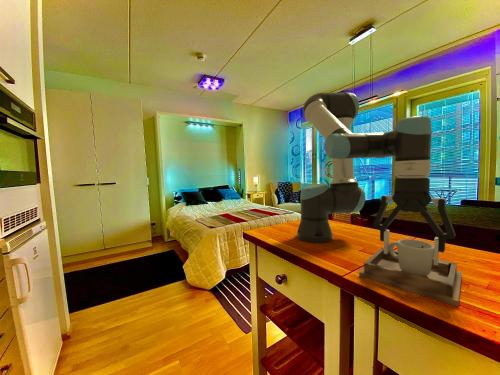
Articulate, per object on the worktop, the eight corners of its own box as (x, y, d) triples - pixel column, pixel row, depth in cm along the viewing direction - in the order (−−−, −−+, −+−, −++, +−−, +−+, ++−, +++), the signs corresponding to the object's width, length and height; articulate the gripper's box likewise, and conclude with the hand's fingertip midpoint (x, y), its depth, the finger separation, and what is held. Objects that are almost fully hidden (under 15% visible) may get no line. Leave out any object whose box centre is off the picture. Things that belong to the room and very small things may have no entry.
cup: (380, 265, 63) (380, 238, 62) (398, 260, 66) (399, 234, 65) (421, 282, 53) (422, 251, 52) (440, 276, 56) (442, 246, 55)
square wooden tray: (359, 276, 60) (359, 263, 60) (378, 257, 73) (378, 246, 72) (458, 306, 46) (458, 290, 46) (461, 276, 58) (462, 263, 58)
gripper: (360, 177, 63) (360, 251, 65) (473, 177, 46) (468, 276, 48) (369, 176, 68) (368, 244, 70) (473, 176, 52) (469, 265, 53)
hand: (409, 257), depth 59 cm, fingers closed on cup, 10 cm apart
